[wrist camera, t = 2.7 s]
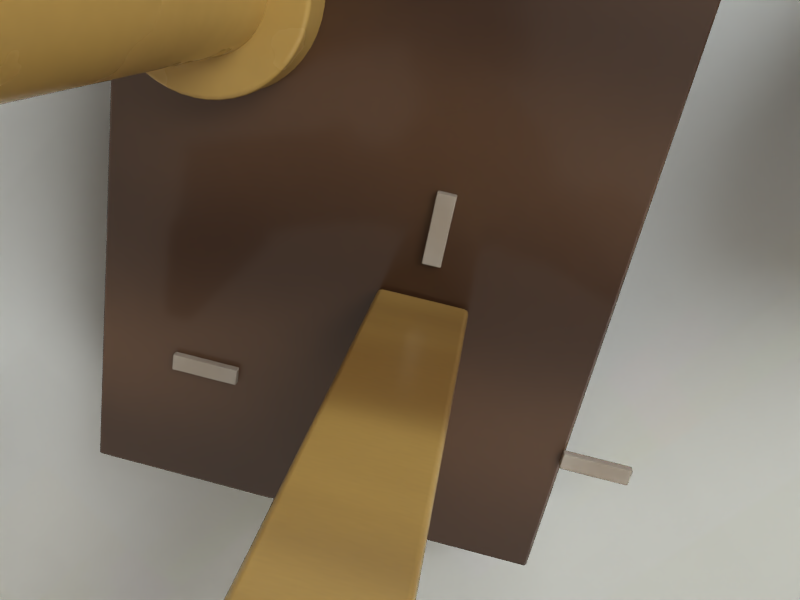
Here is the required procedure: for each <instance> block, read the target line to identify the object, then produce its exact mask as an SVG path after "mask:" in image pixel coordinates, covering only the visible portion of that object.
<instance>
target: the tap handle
mask: <svg viewBox="0 0 800 600" xmlns="http://www.w3.org/2000/svg"><path fill="white" fill-rule="evenodd" d="M467 319H468V311H466V310H465V309H461V308H457V307H453V306H449V305H445V304H441V303H437V302H433V301H428V300H424V299H420V298H416V297H412V296H408V295H404V294H400V293H396V292H391V291H387V290H383V289H382V290H378V292H377V293H376V295H375V297H374V299H373V301H372V303H371V305H370V307H369V309H368V311H367V313H366V315H365V317H364V319H363V321H362V324H361V326H360V328H359V330H358V332H357V334H356V336H355V338H354V340H353V342H352V344H351V346H350V348H349V350H348V352H347V354H346V356H345V358H344V360H343V362H342V364H341V366H340V368H339V370H338V372H337V374H336V376H335V378H334V380H333V382H332V384H331V386H330V388H329V390H328V392H327V394H326V396H325V398H324V400H323V402H322V404H321V406H320V408H319V410H318V412H317V414H316V416H315V418H314V420H313V422H312V424H311V426H310V428H309V430H308V432H307V434H306V436H305V438H304V440H303V442H302V444H301V446H300V448H299V450H298V452H297V454H296V456H295V458H294V460H293V462H292V464H291V466H290V468H289V470H288V472H287V474H286V476H285V478H284V480H283V482H282V484H281V486H280V488H279V490H278V492H277V494H276V496H275V498H274V500H273V502H272V504H271V506H270V508H269V510H268V512H267V514H266V516H265V518H264V520H263V522H262V524H261V526H260V528H259V530H258V532H257V534H256V536H255V538H254V540H253V542H252V545H251V547H250V549H249V551H248V553H247V555H246V557H245V559H244V561H243V563H242V565H241V567H240V569H239V571H238V573H237V575H236V577H235V579H234V581H233V583H232V585H231V587H230V589H229V591H228V593H227V595H226V597H225V599H224V600H416V596H417V591H418V585H419V580H420V574H421V569H422V563H423V558H424V553H425V547H426V542H427V536H428V531H429V526H430V520H431V515H432V509H433V504H434V498H435V493H436V488H437V482H438V477H439V471H440V466H441V460H442V455H443V450H444V444H445V439H446V433H447V428H448V422H449V417H450V412H451V406H452V401H453V395H454V390H455V385H456V379H457V374H458V368H459V363H460V357H461V352H462V347H463V341H464V336H465V330H466V325H467Z"/></svg>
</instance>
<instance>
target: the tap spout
mask: <svg viewBox="0 0 800 600" xmlns="http://www.w3.org/2000/svg"><path fill="white" fill-rule="evenodd" d="M324 7H325V0H0V104H5V103H9V102H14V101H18V100H23V99H27V98H32V97H36V96H41V95H45V94H50V93H54V92H59V91H63V90H68V89H72V88H77V87H81V86H86V85H91V84H95V83H100V82H104V81H109V80H113V79H118V78H122V77H127V76H131V75H136V74H140V73H147V74H148V75H149V76H151V77H152V78H153V79H154V80H156V81H157V82H159V83H161V84H162V85H164V86H166V87H167V88H169V89H171V90H174V91H176V92H178V93H180V94H183V95H187V96H190V97H193V98H199V99H205V100H226V99H234V98H237V97H241V96H245V95H248V94H250V93H253V92H256V91H258V90H261V89H263V88H266V87H268V86H270V85H272V84H274V83H276V82H278V81H279V80H281V79H282V78H284V77H285V76H287V75H288V74H289V73H290V72H291V71H292V70H294V69H295V68H296V66H297V65H298V64H299V63H300V62H301V61H302V60H303V58H304V57H305V55H306V54H307V52H308V51H309V49H310V48H311V46H312V44H313V42H314V40H315V38H316V36H317V33H318V30H319V27H320V24H321V21H322V17H323V12H324Z"/></svg>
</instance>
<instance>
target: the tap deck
mask: <svg viewBox="0 0 800 600" xmlns="http://www.w3.org/2000/svg"><path fill="white" fill-rule="evenodd" d="M720 1H721V0H325V7H324V12H323V17H322V21H321V24H320V27H319V30H318V33H317V36H316V38H315V40H314V42H313V44H312V46H311V48H310V49H309V51H308V52H307V54H306V55H305V57H304V58H303V60H302V61H301V62H300V63H299V64H298V65H297V66H296V68H295V69H294V70H292V71H291V72H290V73H289V74H288V75H287V76H285V77H284V78H282V79H281V80H279V81H278V82H276V83H274V84H272V85H270V86H268V87H266V88H263V89H261V90H258V91H256V92H253V93H250V94H248V95H245V96H241V97H237V98H234V99H226V100H205V99H199V98H193V97H190V96H187V95H183V94H180V93H178V92H176V91H174V90H171V89H169V88H167V87H166V86H164V85H162V84H161V83H159V82H157V81H156V80H154V79H153V78H152V77H151V76H149V75H148V74H147V73H140V74H136V75H131V76H127V77H122V78H118V79H113V80H111V105H110V139H109V173H108V207H107V241H106V274H105V308H104V342H103V376H102V410H101V443H100V452H101V453H104V454H107V455H111V456H115V457H119V458H122V459H126V460H130V461H134V462H137V463H141V464H145V465H149V466H152V467H156V468H160V469H164V470H167V471H171V472H175V473H179V474H182V475H186V476H190V477H194V478H198V479H201V480H205V481H209V482H213V483H216V484H220V485H224V486H228V487H231V488H235V489H239V490H243V491H246V492H250V493H254V494H258V495H261V496H265V497H269V498H273V499H274V498H275V496H276V494H277V492H278V490H279V488H280V486H281V484H282V482H283V480H284V478H285V476H286V474H287V472H288V470H289V468H290V466H291V464H292V462H293V460H294V458H295V456H296V454H297V452H298V450H299V448H300V446H301V444H302V442H303V440H304V438H305V436H306V434H307V432H308V430H309V428H310V426H311V424H312V422H313V420H314V418H315V416H316V414H317V412H318V410H319V408H320V406H321V404H322V402H323V400H324V398H325V396H326V394H327V392H328V390H329V388H330V386H331V384H332V382H333V380H334V378H335V376H336V374H337V372H338V370H339V368H340V366H341V364H342V362H343V360H344V358H345V356H346V354H347V352H348V350H349V348H350V346H351V344H352V342H353V340H354V338H355V336H356V334H357V332H358V330H359V328H360V326H361V324H362V321H363V319H364V317H365V315H366V313H367V311H368V309H369V307H370V305H371V303H372V301H373V299H374V297H375V295H376V293H377V292H378V290H382V289H383V290H387V291H391V292H396V293H400V294H404V295H408V296H412V297H416V298H420V299H424V300H428V301H433V302H437V303H441V304H445V305H449V306H453V307H457V308H461V309H465V310H466V311H468V319H467V325H466V330H465V336H464V341H463V347H462V352H461V357H460V363H459V368H458V374H457V379H456V385H455V390H454V395H453V401H452V406H451V412H450V417H449V422H448V428H447V433H446V439H445V444H444V450H443V455H442V460H441V466H440V471H439V477H438V482H437V488H436V493H435V498H434V504H433V509H432V515H431V520H430V526H429V531H428V536H427V540H431V541H434V542H438V543H442V544H446V545H449V546H453V547H457V548H461V549H464V550H468V551H472V552H476V553H479V554H483V555H487V556H491V557H494V558H498V559H502V560H506V561H509V562H513V563H517V564H521V565H525V564H526V563H527V560H528V557H529V554H530V551H531V548H532V546H533V543H534V540H535V537H536V534H537V531H538V528H539V525H540V522H541V519H542V517H543V514H544V511H545V508H546V505H547V502H548V499H549V496H550V493H551V491H552V488H553V485H554V482H555V479H556V476H557V473H558V470H559V468H561V469H565V470H569V471H573V472H577V473H580V474H584V475H588V476H592V477H596V478H600V479H604V480H608V481H612V482H616V483H619V484H623V485H627V484H628V482H629V479H630V477H631V474H632V468H631V467H628V466H624V465H621V464H617V463H613V462H609V461H605V460H601V459H597V458H593V457H589V456H585V455H581V454H577V453H573V452H569V451H565V450H566V447H567V444H568V441H569V438H570V436H571V433H572V430H573V427H574V424H575V421H576V418H577V415H578V412H579V410H580V407H581V404H582V401H583V398H584V395H585V392H586V389H587V386H588V383H589V381H590V378H591V375H592V372H593V369H594V366H595V363H596V360H597V357H598V355H599V352H600V349H601V346H602V343H603V340H604V337H605V334H606V331H607V328H608V326H609V323H610V320H611V317H612V314H613V311H614V308H615V305H616V302H617V300H618V297H619V294H620V291H621V288H622V285H623V282H624V279H625V276H626V273H627V271H628V268H629V265H630V262H631V259H632V256H633V253H634V250H635V247H636V245H637V242H638V239H639V236H640V233H641V230H642V227H643V224H644V221H645V219H646V216H647V213H648V210H649V207H650V204H651V201H652V198H653V195H654V192H655V190H656V187H657V184H658V181H659V178H660V175H661V172H662V169H663V166H664V164H665V161H666V158H667V155H668V152H669V149H670V146H671V143H672V140H673V137H674V135H675V132H676V129H677V126H678V123H679V120H680V117H681V114H682V111H683V109H684V106H685V103H686V100H687V97H688V94H689V91H690V88H691V85H692V83H693V80H694V77H695V74H696V71H697V68H698V65H699V62H700V59H701V56H702V54H703V51H704V48H705V45H706V42H707V39H708V36H709V33H710V30H711V28H712V25H713V22H714V19H715V16H716V13H717V10H718V7H719V4H720Z"/></svg>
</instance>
